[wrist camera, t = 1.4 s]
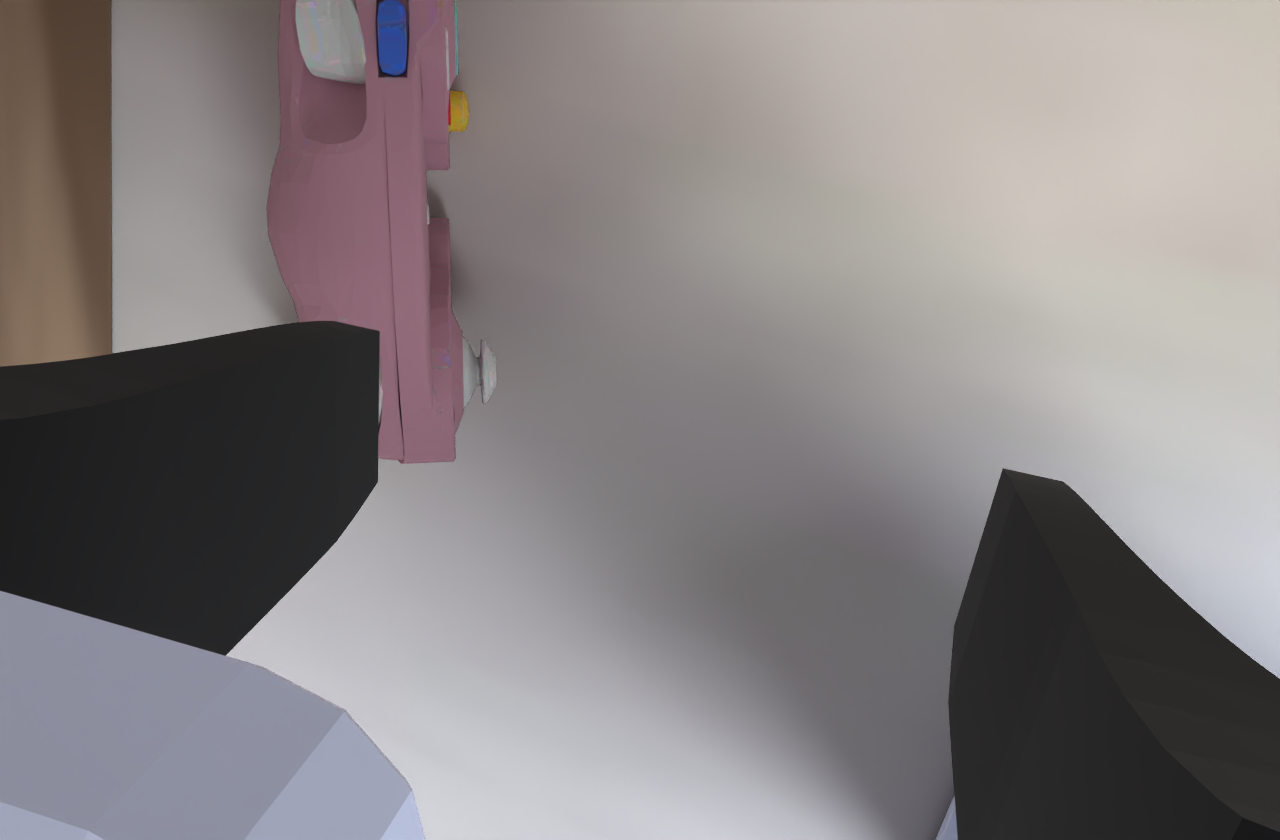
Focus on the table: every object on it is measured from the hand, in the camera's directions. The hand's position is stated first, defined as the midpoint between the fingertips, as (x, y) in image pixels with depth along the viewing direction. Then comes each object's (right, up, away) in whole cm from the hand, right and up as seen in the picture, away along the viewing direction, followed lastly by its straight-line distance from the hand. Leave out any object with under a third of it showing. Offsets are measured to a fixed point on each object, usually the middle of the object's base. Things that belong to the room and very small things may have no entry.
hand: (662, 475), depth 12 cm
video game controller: (-5, +6, +10) cm, 13 cm away
